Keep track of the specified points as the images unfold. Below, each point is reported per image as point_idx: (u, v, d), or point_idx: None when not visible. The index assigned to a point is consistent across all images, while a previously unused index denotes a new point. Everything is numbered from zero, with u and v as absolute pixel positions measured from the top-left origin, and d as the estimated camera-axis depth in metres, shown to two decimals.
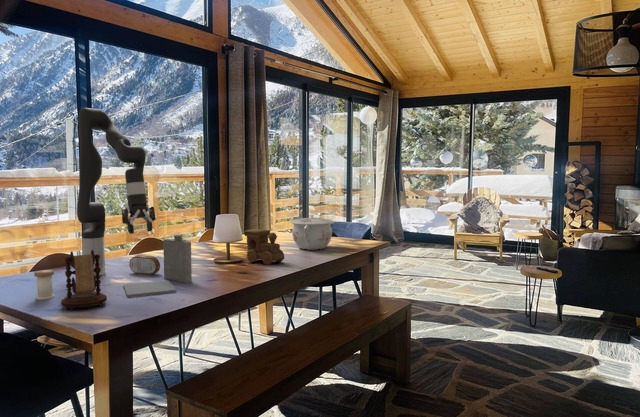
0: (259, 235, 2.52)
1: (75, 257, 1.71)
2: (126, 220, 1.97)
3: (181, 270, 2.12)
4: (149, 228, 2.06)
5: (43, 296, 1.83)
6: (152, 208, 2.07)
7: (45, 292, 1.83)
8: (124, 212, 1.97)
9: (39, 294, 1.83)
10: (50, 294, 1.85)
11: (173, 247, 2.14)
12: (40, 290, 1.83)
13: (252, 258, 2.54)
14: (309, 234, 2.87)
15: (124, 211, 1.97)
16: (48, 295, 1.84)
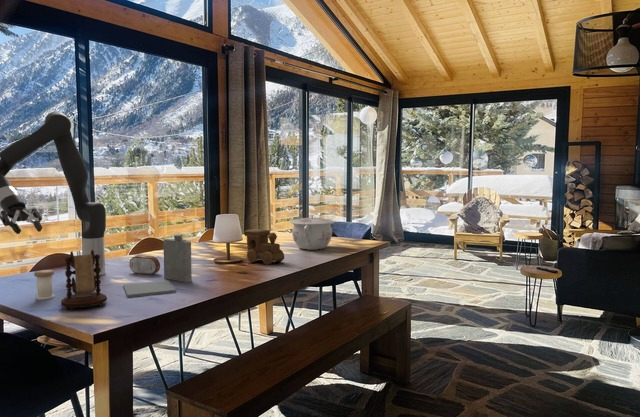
0: (259, 235, 2.52)
1: (75, 257, 1.71)
2: None
3: (181, 270, 2.12)
4: None
5: (43, 296, 1.83)
6: None
7: (45, 292, 1.83)
8: None
9: (39, 294, 1.83)
10: (50, 294, 1.85)
11: (173, 247, 2.14)
12: (40, 290, 1.83)
13: (252, 258, 2.54)
14: (309, 234, 2.87)
15: None
16: (48, 295, 1.84)
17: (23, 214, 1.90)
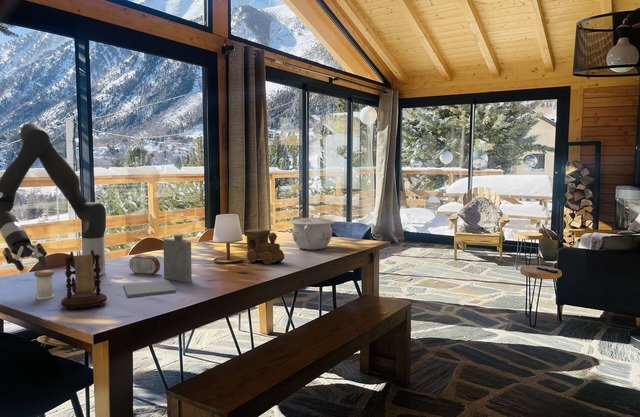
0: (259, 235, 2.52)
1: (75, 257, 1.71)
2: None
3: (181, 270, 2.12)
4: None
5: (43, 296, 1.83)
6: None
7: (45, 292, 1.83)
8: None
9: (39, 294, 1.83)
10: (50, 294, 1.85)
11: (173, 247, 2.14)
12: (40, 290, 1.83)
13: (252, 258, 2.54)
14: (309, 234, 2.87)
15: None
16: (48, 295, 1.84)
17: (27, 250, 1.90)
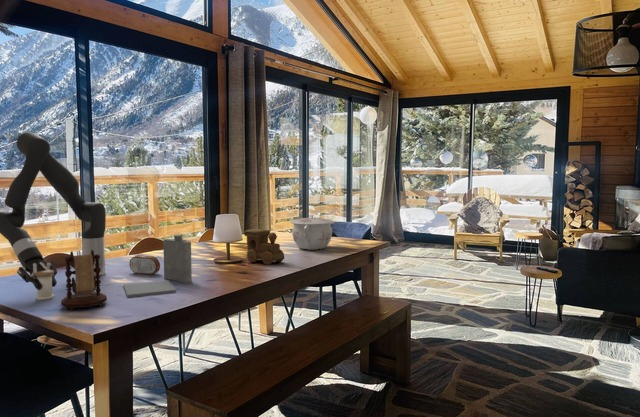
0: (259, 235, 2.52)
1: (75, 257, 1.71)
2: None
3: (181, 270, 2.12)
4: None
5: (43, 296, 1.83)
6: None
7: (44, 292, 1.83)
8: None
9: (39, 294, 1.83)
10: (50, 294, 1.85)
11: (173, 247, 2.14)
12: (40, 290, 1.83)
13: (252, 258, 2.54)
14: (309, 234, 2.87)
15: None
16: (48, 295, 1.84)
17: (39, 267, 1.86)
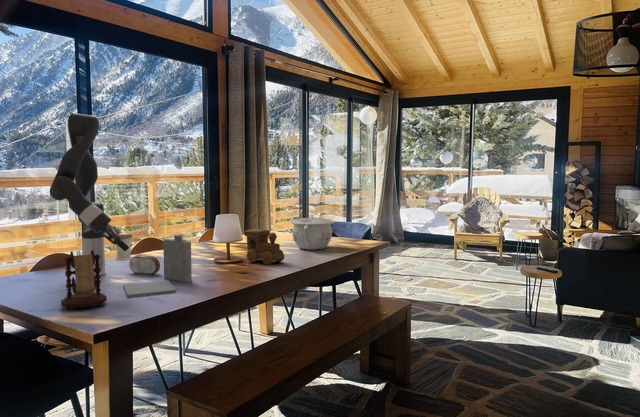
0: (259, 235, 2.52)
1: (75, 257, 1.71)
2: None
3: (181, 270, 2.12)
4: None
5: (127, 257, 1.91)
6: None
7: (128, 253, 1.91)
8: None
9: (123, 255, 1.90)
10: (130, 255, 1.93)
11: (173, 247, 2.14)
12: (125, 251, 1.90)
13: (252, 258, 2.54)
14: (309, 234, 2.87)
15: None
16: (130, 256, 1.92)
17: None
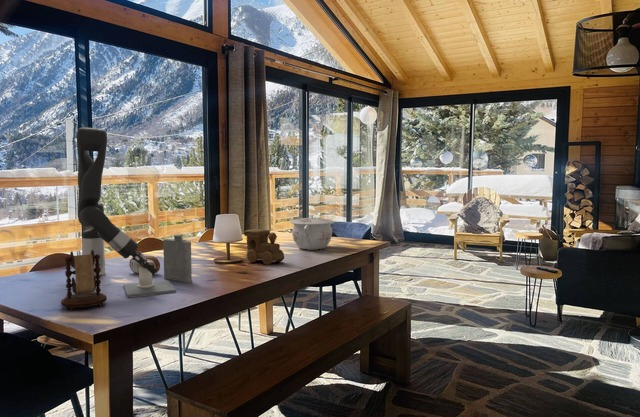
0: (259, 235, 2.52)
1: (75, 257, 1.71)
2: None
3: (181, 270, 2.12)
4: None
5: (150, 284, 1.99)
6: None
7: (151, 280, 1.99)
8: None
9: (147, 283, 1.97)
10: None
11: (173, 247, 2.14)
12: (148, 279, 1.98)
13: (252, 258, 2.54)
14: (309, 234, 2.87)
15: None
16: None
17: None
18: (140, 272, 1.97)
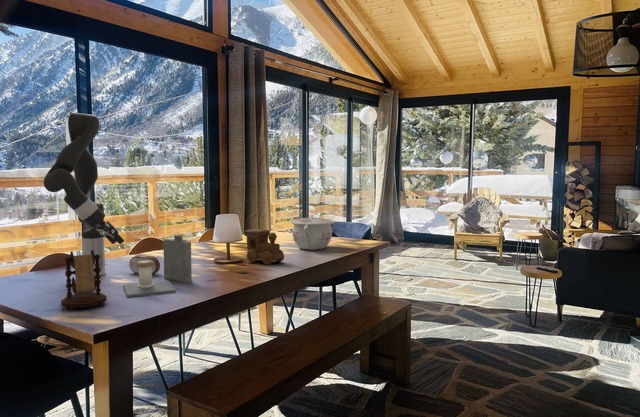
0: (259, 235, 2.52)
1: (75, 257, 1.71)
2: (101, 234, 1.99)
3: (181, 270, 2.12)
4: None
5: (150, 284, 1.99)
6: (104, 227, 1.87)
7: (151, 280, 1.99)
8: None
9: (147, 283, 1.97)
10: None
11: (173, 247, 2.14)
12: (148, 279, 1.98)
13: (252, 258, 2.54)
14: (309, 234, 2.87)
15: None
16: None
17: None
18: (140, 272, 1.97)
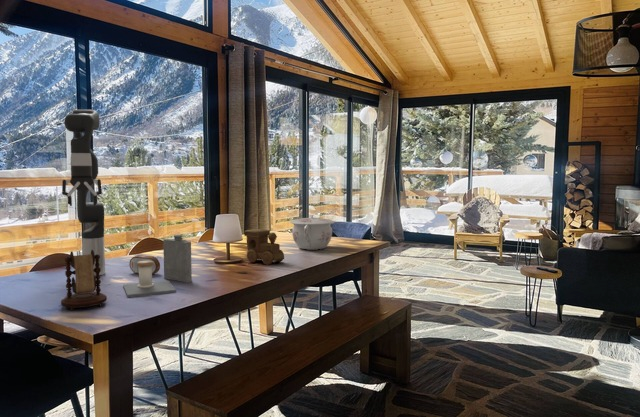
0: (259, 235, 2.52)
1: (75, 257, 1.71)
2: (63, 192, 1.91)
3: (181, 270, 2.12)
4: (93, 202, 1.97)
5: (150, 284, 1.99)
6: (98, 181, 1.97)
7: (151, 280, 1.99)
8: None
9: (147, 283, 1.97)
10: None
11: (173, 247, 2.14)
12: (148, 279, 1.98)
13: (252, 258, 2.54)
14: (309, 234, 2.87)
15: None
16: None
17: None
18: (140, 272, 1.97)
